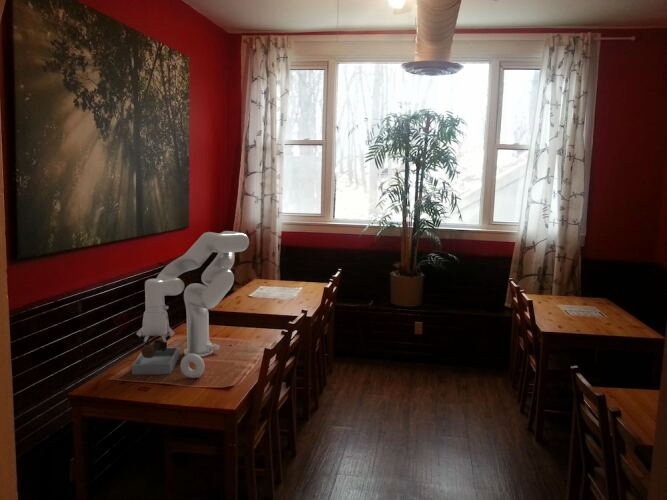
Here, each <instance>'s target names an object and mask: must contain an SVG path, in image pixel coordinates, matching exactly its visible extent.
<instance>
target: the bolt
mask: <svg viewBox="0 0 667 500" xmlns="http://www.w3.org/2000/svg"><path fill="white" fill-rule="evenodd" d="M162 342H163V339H162V338H157V339H155V341H154V342H153V344H150V345H145V344H144V345H143V347H142V348H141V350H140V353H142V355H143V356H144V357H145V358H152V357H153V355H154V354H155V352H156V351H157V350H162Z"/></svg>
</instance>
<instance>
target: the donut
mask: <svg viewBox="0 0 667 500" xmlns="http://www.w3.org/2000/svg"><path fill="white" fill-rule="evenodd" d="M180 360H181V361H180V364H179V366H180V370H181V372H182V374H183V375H184V376H185V377H187V378H190V379H196V378H199V377H201V376H202V375H203V374H204V371H205V368H206V367H205V366H206V365H205V361H204V359H203V357H200V356H198V355H197V354H188V355H185V354H184V356H183V357H182V359H180ZM190 363H194V364H195V369H192V368H191V367H190Z"/></svg>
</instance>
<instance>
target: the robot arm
mask: <svg viewBox="0 0 667 500" xmlns="http://www.w3.org/2000/svg"><path fill="white" fill-rule="evenodd" d="M249 244H250V238H249V237H248V235H247V234H245V233H243V232H239V231H232V230H231V231H230V230H224V231H222V232H219V233H217V232H211V231H208V232H203V234H201V235H200V237H198V239H197V240H196V241H195V242H194V243H193V244H192V245H191V247H190V248H189V249H188V250H187V251H186V252H185V253H184V254H183V255H181V256H179V257H178V258H176V259H175V260H172V261H171V262H170V263H168V264H167V265H165V267H164V268H163V269H162V270H161V271H160V272H159V274H158V275H157V277H156V278H148V279H147V280H145V282H144V292H145V293H144V294H145V295H144V297H145V299H144V300H145V301H144V302H145V303H144V305H145V311H144V312H143V317H142V324H141V325H142V327H141V328H139V330H138V331H137V332H136V335H137V336H138V337H139V338H140V339H141V340H142V341H143V342H144V345H151V344H150V343H151V342H150V340H149V338H150V337H161V339H163V342H162V351H163V352H164V351H165V350H166V349H167V347H168V340H170V339H171V338H172V337H173V336H174V335H175V333H176V332H175V331H174V330H173V329H172V328H171V327H170V325H169V324H170V323H169V315H168V312H167V310H168V309H169V305H166V304H165V296H178V295H180V294H181V293H183V301H184V305H185V309H186V310H185V311H186V314H185V315H186V338H187V340H186V343H187V347H186V348H185V349H184V350H183V354H184V356H185V355H188V354H197V355H198V356H200V357H201V358H203V357H206V356H210V355H211V354H212V353H213V352H214V350H220V345H219V344H218V343H212V342H211V340H210V326H209V324H210V322H209V319H210V318H209V315H210V313H209V310H211V309H213V308H215V307H217V305H218V304H220V302H221V301H222V300H223V298H224V297H225V296H226V294H227V293H228V292H229V291H230V289H231V288H232V286H233V285H234V281H235V275H234V273H233V271H232V270H231V268H233V265H234V263H235V253H241V252H244V251H246V250H247V249H248V247H249ZM213 253H217V255H216V256H215V257H214V259H213V260H212V261H211V262H210V264H209V265H208V266H207V267H205V270H204V271H203V272H202V274H201V282H202V283H203V284H202V283H196V282H195V283H190V284H188V285H187V286H186V287H185V282H184V281H183V280H182V279H181V278H179V276H181V275H182V274H184V273H187V272H189V271H193V270H196V269H198V268H200V267H201V266H202V265H203V264H204V263H205V262H206V261H207V260H208V259H209V257H210V256H211V255H212V254H213ZM168 333H169V334H168ZM167 334H168V335H167Z"/></svg>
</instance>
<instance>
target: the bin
mask: <svg viewBox="0 0 667 500" xmlns="http://www.w3.org/2000/svg"><path fill="white" fill-rule="evenodd" d="M180 349H181V347H180V346H175V347H174V346H169V347H168V346H167V349H166V350H165V351H164V352H163V351H162V350H157V351H156V352H155V354H154V355H153V357H152V358H145V357H144V356H143V355H142V353H141V352H140V354H139V355H138V356H137V357H136V359H135V360H134V362H132V364H131V375H133V376H134V375H135V376H137V375H138V376H139V375H140V376H141V375H171V374H172V372H173V370H174V368H175V367H176V365H177V362H178V361H177V360H179V358H180V356H181V350H180Z"/></svg>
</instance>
